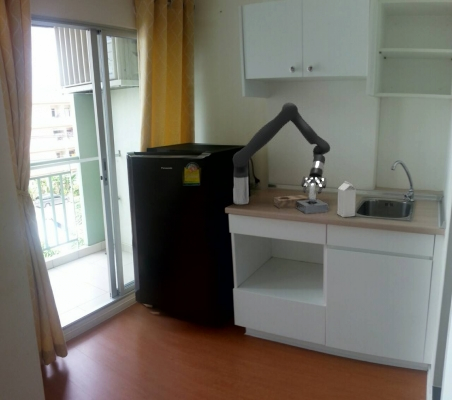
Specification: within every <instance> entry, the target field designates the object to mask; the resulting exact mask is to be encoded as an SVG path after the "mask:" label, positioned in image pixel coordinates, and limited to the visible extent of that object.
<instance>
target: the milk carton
mask: <svg viewBox="0 0 452 400" xmlns="http://www.w3.org/2000/svg"><path fill="white" fill-rule="evenodd" d="M356 196H357V189H356V188H354V186H353V184H352V183H351V182H349V181H346V180H343V183H341V185H340V186H339V187H338V188H337V212H336V213H337V215H339V216H341V217H342V218H347V217H356V198H357V197H356Z"/></svg>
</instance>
